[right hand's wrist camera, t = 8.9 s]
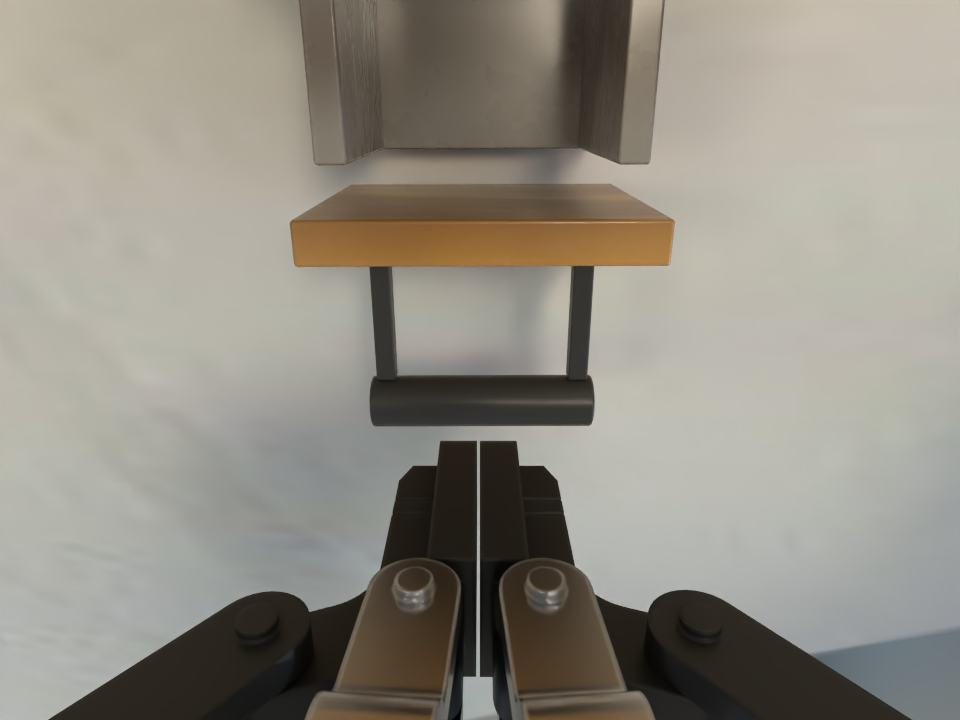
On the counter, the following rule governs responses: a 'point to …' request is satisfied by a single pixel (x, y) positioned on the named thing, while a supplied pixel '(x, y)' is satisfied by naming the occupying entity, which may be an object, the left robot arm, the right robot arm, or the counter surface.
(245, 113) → the counter surface
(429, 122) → the drawer
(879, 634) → the counter surface
